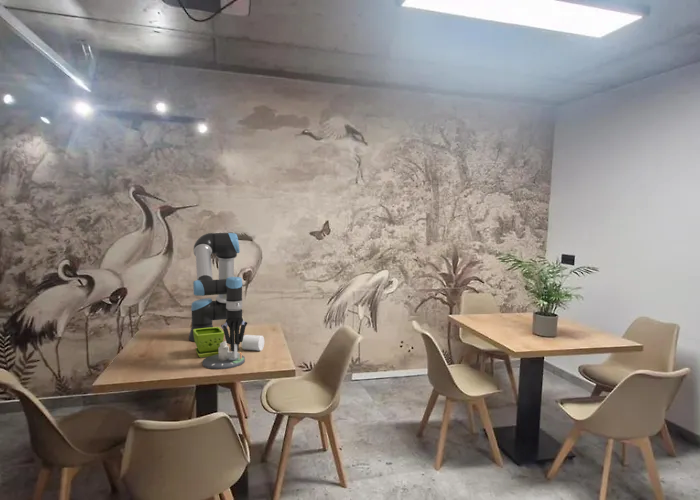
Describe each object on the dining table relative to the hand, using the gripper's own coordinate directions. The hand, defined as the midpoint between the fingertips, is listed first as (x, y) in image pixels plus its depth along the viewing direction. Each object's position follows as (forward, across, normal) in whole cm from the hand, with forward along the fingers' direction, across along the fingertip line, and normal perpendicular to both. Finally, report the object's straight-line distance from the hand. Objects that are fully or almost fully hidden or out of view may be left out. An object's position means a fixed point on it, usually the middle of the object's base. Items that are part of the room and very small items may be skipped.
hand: (234, 357), depth 214 cm
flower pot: (+4, -2, +25) cm, 25 cm away
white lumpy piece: (+2, 0, +4) cm, 5 cm away
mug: (+4, +21, +18) cm, 28 cm away
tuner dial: (+4, -2, +7) cm, 8 cm away
